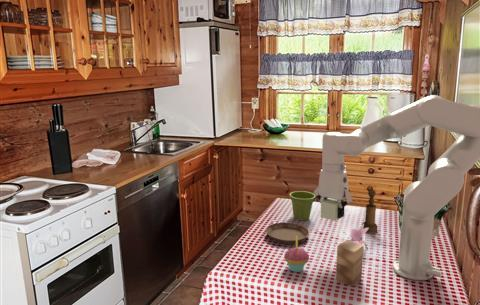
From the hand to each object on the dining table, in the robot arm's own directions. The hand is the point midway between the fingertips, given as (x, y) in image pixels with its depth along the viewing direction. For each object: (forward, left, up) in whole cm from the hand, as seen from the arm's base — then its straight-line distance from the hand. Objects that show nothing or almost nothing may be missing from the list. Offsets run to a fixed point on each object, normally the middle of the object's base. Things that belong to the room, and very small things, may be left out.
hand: (332, 214), depth 141 cm
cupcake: (+3, +17, -16) cm, 24 cm away
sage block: (0, 0, -1) cm, 1 cm away
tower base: (-13, +10, -16) cm, 23 cm away
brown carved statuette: (+1, -32, -16) cm, 36 cm away
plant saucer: (+22, -2, -17) cm, 27 cm away
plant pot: (+30, -23, -16) cm, 41 cm away
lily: (-4, -12, -16) cm, 21 cm away
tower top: (-13, +10, -10) cm, 20 cm away
